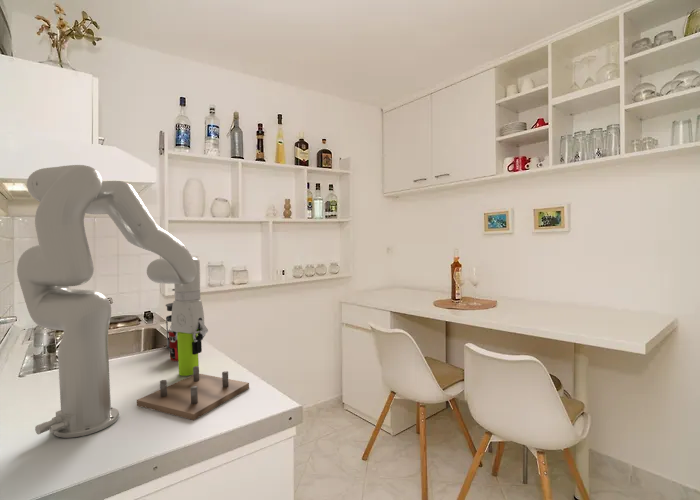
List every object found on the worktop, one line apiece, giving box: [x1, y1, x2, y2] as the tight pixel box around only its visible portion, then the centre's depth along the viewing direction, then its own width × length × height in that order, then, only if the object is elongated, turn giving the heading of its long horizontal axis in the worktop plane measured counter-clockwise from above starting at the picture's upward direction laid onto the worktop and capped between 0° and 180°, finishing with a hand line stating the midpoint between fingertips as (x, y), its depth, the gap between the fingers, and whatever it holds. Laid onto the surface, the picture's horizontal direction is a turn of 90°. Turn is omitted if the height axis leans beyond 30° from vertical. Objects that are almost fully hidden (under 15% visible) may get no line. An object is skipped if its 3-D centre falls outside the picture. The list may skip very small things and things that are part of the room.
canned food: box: [168, 327, 178, 362], centre depth 134 cm, size 8×8×11 cm
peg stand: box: [136, 366, 250, 421], centre depth 102 cm, size 20×20×6 cm
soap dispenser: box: [177, 332, 200, 377], centre depth 120 cm, size 6×7×20 cm
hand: (189, 351), depth 120 cm, fingers closed on soap dispenser, 5 cm apart
